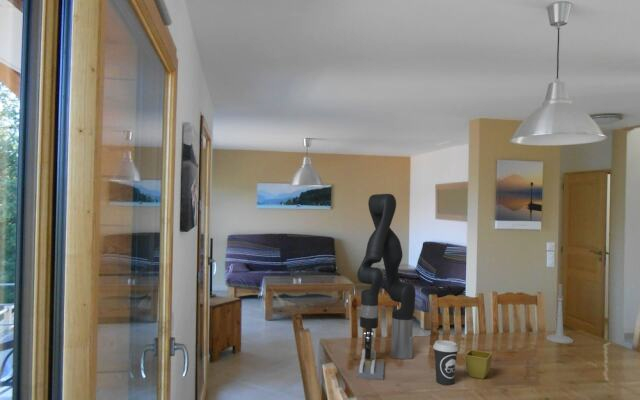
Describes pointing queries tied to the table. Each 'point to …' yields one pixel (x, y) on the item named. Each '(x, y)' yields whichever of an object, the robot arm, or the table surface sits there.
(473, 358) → the flower pot
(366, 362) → the brass bolt
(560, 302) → the candlestick
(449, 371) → the coffee cup
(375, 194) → the robot arm
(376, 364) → the door and jamb plate
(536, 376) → the table surface
